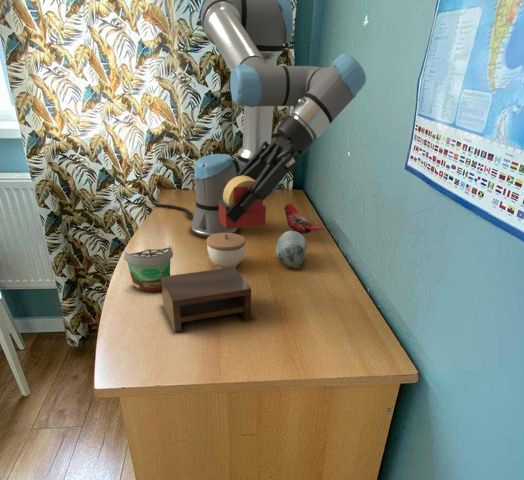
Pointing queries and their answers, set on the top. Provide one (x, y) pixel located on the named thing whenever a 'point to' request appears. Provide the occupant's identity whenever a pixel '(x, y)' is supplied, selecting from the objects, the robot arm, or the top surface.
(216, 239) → the trinket box
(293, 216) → the decorative bird figurine
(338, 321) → the top surface
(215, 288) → the shelf
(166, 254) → the food container
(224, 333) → the top surface
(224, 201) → the tape dispenser
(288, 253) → the spool
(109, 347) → the top surface
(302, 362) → the top surface
